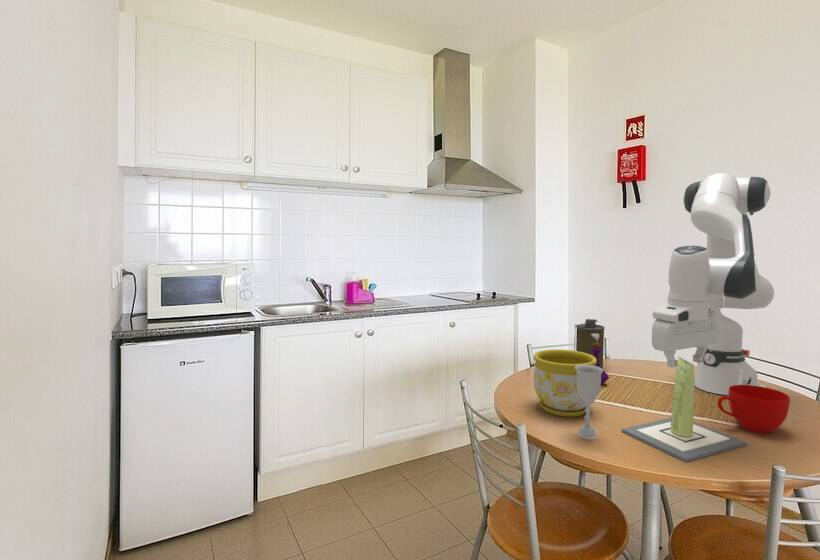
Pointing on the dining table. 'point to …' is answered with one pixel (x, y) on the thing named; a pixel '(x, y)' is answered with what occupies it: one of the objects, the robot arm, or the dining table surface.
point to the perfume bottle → (596, 351)
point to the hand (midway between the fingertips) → (685, 364)
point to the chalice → (588, 395)
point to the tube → (683, 399)
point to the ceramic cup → (757, 407)
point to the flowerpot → (560, 381)
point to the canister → (589, 338)
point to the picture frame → (684, 440)
